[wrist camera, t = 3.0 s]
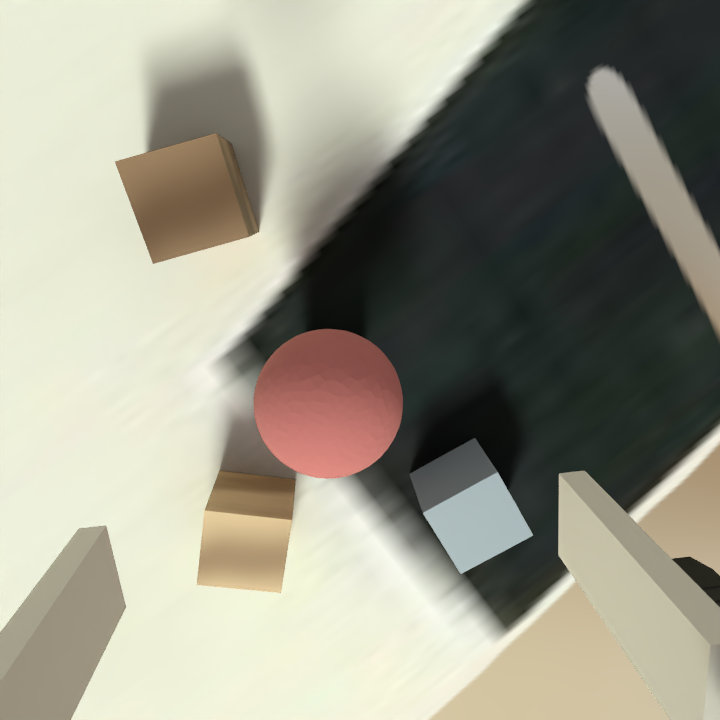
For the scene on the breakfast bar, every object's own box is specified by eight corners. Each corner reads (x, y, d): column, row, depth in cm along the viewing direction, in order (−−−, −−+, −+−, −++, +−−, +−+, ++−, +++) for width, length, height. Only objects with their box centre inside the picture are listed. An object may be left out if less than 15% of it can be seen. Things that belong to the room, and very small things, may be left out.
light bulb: (246, 338, 34) (210, 407, 23) (345, 278, 34) (360, 317, 22) (308, 429, 36) (303, 534, 25) (403, 373, 36) (443, 455, 24)
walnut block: (145, 167, 31) (114, 161, 27) (231, 143, 31) (215, 133, 27) (177, 254, 33) (153, 263, 28) (259, 231, 33) (249, 236, 28)
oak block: (219, 470, 37) (204, 510, 32) (295, 479, 37) (291, 520, 32) (212, 536, 38) (196, 584, 33) (285, 544, 39) (281, 592, 34)
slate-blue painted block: (409, 473, 38) (422, 512, 33) (474, 437, 37) (497, 471, 33) (443, 528, 39) (460, 573, 34) (506, 494, 39) (533, 535, 34)
